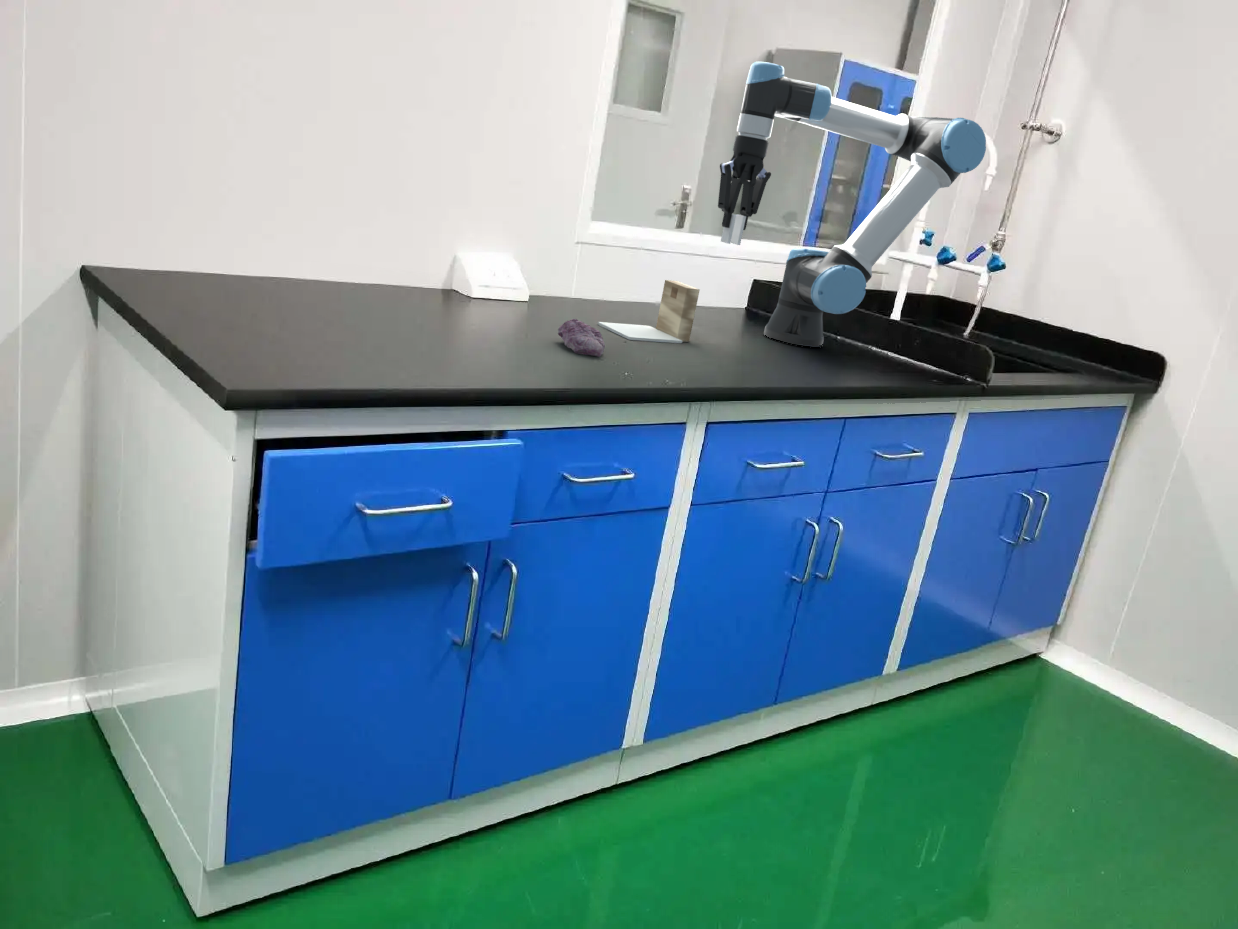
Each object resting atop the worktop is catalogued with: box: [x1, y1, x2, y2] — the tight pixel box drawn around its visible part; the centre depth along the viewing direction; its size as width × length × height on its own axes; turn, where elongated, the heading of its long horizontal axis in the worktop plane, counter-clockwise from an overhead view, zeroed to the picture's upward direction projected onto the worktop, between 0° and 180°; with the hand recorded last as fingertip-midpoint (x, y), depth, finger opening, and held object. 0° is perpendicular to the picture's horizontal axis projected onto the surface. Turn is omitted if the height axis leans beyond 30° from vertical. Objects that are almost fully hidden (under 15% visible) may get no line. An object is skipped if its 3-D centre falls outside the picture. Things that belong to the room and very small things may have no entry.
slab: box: [655, 279, 701, 343], centre depth 230 cm, size 4×9×12 cm, turn 31°
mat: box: [597, 321, 683, 344], centre depth 227 cm, size 14×14×1 cm
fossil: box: [557, 318, 606, 358], centre depth 198 cm, size 8×14×5 cm, turn 26°
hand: (730, 242), depth 231 cm, fingers open, 2 cm apart
